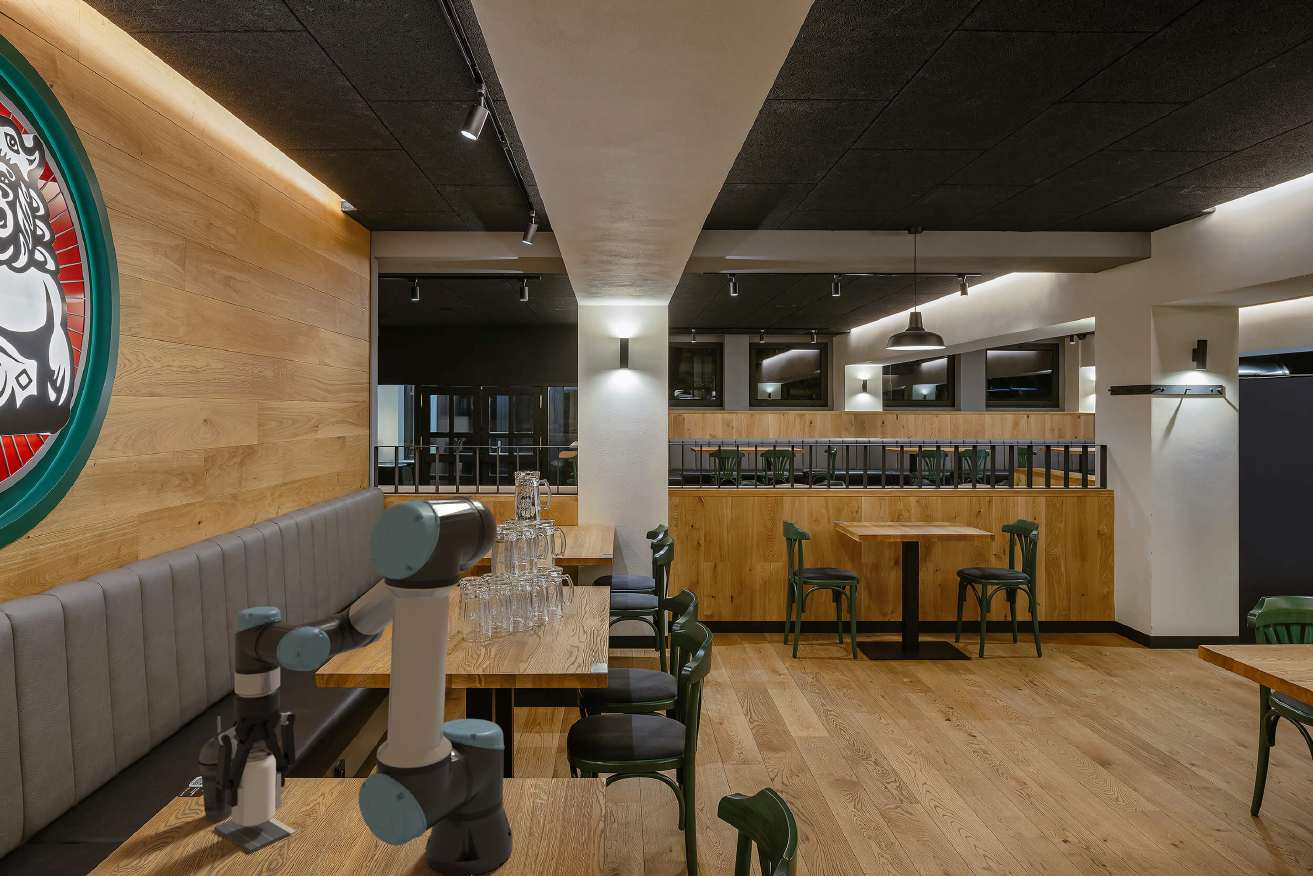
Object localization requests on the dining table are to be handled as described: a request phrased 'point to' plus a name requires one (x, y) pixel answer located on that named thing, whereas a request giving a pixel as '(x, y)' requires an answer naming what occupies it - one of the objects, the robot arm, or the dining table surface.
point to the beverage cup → (214, 780)
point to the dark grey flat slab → (254, 834)
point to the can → (258, 787)
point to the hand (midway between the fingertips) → (256, 813)
